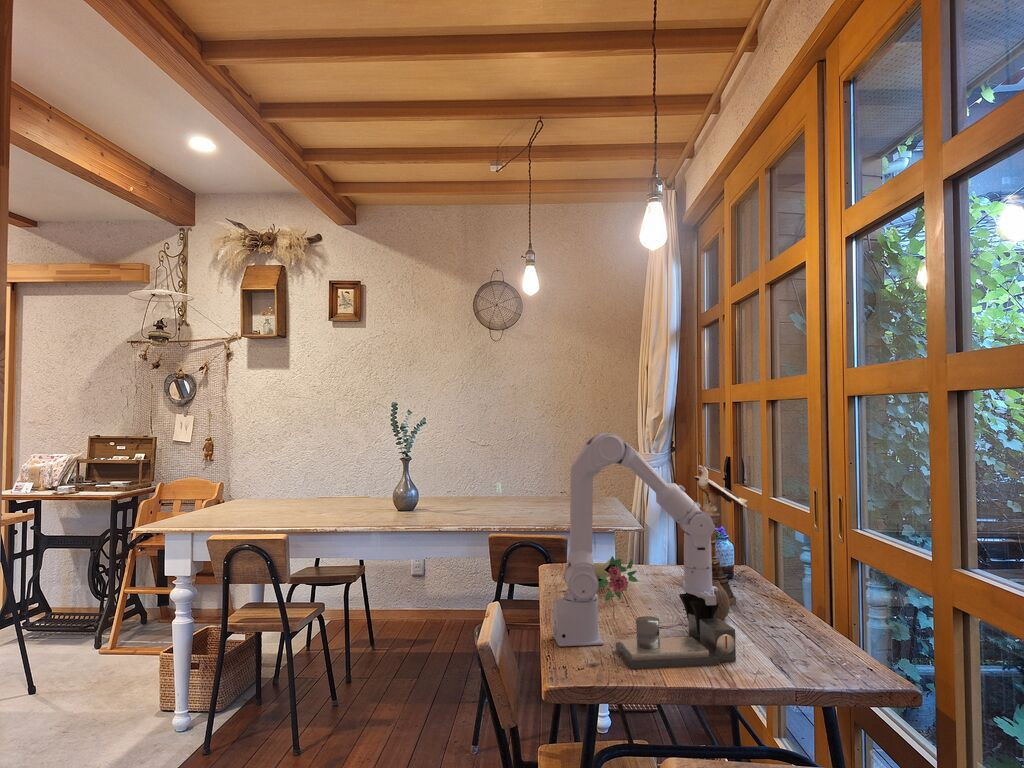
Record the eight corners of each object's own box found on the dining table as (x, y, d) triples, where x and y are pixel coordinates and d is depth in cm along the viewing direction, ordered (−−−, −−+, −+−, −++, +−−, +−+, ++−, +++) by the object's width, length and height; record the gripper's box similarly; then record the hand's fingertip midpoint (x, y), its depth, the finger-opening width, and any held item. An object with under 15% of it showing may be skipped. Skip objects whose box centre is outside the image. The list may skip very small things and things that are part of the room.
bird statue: (744, 594, 191) (741, 461, 193) (761, 607, 178) (757, 464, 179) (681, 594, 191) (679, 462, 193) (694, 607, 178) (691, 465, 180)
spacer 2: (693, 642, 150) (692, 617, 150) (685, 635, 155) (685, 612, 155) (713, 641, 151) (712, 616, 151) (705, 635, 155) (705, 611, 155)
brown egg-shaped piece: (709, 624, 163) (708, 585, 164) (693, 616, 170) (692, 578, 170) (736, 621, 165) (735, 582, 166) (719, 614, 172) (718, 576, 172)
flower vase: (613, 606, 209) (642, 610, 175) (572, 594, 209) (593, 595, 175) (623, 566, 212) (653, 561, 178) (583, 554, 212) (605, 547, 179)
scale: (630, 669, 134) (630, 636, 134) (615, 650, 145) (615, 620, 145) (739, 664, 136) (738, 631, 137) (716, 646, 147) (715, 616, 148)
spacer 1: (643, 650, 138) (642, 623, 138) (633, 643, 142) (632, 617, 142) (663, 647, 139) (663, 621, 139) (653, 640, 143) (652, 615, 143)
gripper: (729, 573, 147) (731, 641, 146) (703, 559, 161) (704, 621, 160) (696, 574, 146) (697, 642, 145) (672, 560, 160) (673, 622, 160)
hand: (699, 631), depth 153 cm, fingers closed on spacer 2, 4 cm apart
